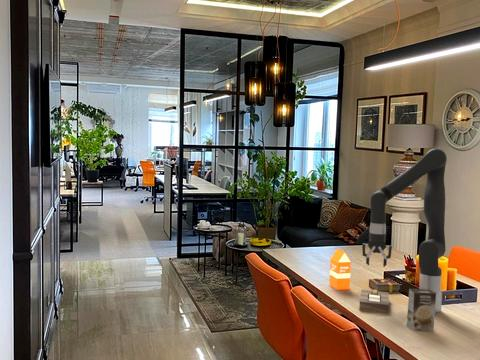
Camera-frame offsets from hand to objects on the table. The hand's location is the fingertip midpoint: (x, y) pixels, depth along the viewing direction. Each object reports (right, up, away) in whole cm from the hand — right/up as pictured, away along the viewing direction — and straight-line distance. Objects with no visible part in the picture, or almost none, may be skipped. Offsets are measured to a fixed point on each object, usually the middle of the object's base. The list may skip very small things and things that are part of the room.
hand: (376, 265), depth 231 cm
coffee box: (+9, -21, -33) cm, 40 cm away
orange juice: (-13, -16, +24) cm, 31 cm away
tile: (-3, -16, -6) cm, 18 cm away
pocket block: (-2, -18, -5) cm, 19 cm away
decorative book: (+12, -17, +22) cm, 30 cm away
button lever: (-2, -17, -3) cm, 17 cm away
